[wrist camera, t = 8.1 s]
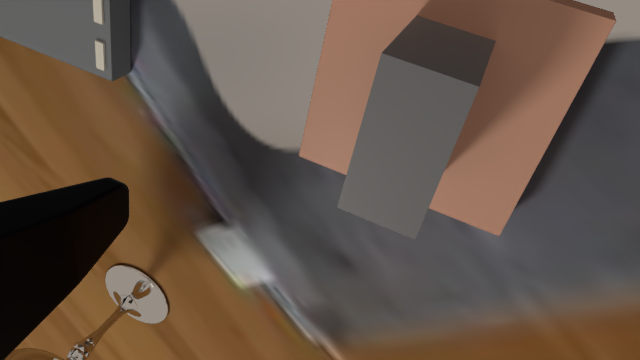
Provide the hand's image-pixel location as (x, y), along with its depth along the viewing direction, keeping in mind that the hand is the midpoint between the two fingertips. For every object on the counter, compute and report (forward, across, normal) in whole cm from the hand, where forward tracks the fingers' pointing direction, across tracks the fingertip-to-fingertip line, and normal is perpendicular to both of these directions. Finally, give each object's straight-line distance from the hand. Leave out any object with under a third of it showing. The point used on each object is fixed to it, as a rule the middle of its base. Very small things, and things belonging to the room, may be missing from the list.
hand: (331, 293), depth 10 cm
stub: (+11, 0, 0) cm, 11 cm away
